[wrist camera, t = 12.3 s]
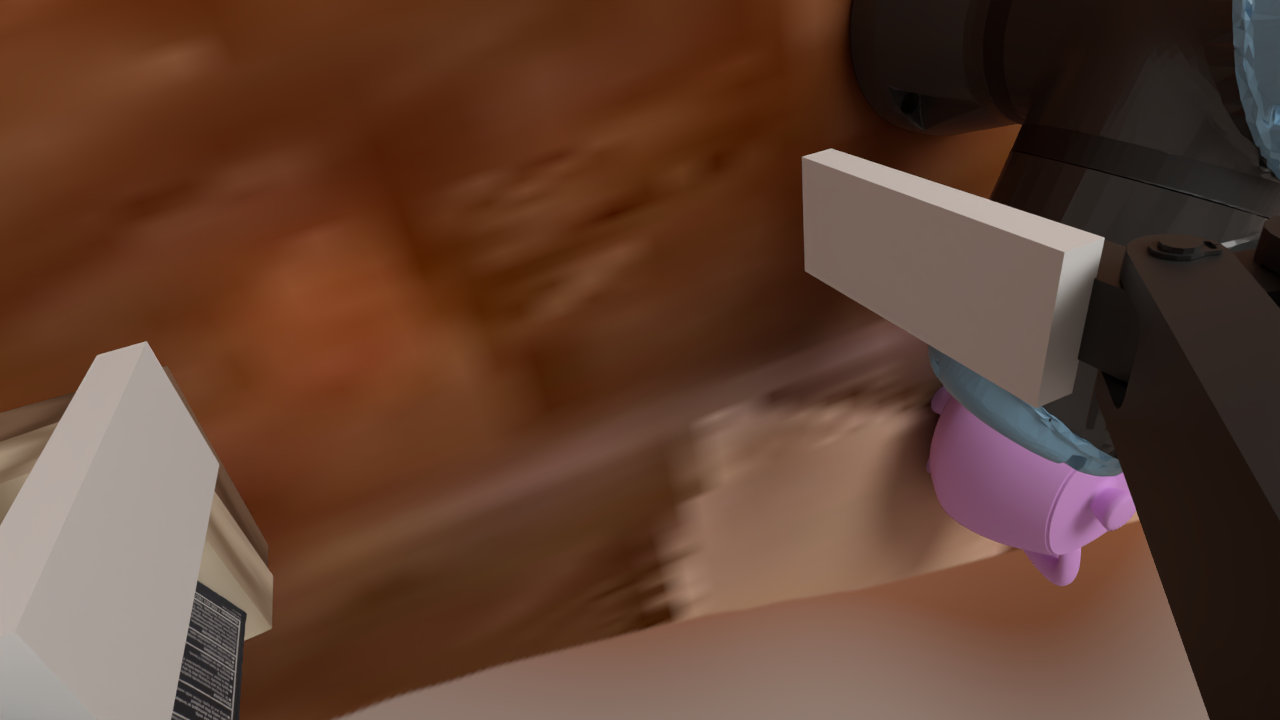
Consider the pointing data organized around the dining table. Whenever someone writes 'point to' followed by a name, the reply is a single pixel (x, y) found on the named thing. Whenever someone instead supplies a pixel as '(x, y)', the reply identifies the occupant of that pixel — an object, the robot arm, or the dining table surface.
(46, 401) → the tower base block
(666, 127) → the dining table surface
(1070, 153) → the robot arm
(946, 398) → the teapot
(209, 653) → the small box
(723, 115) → the dining table surface
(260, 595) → the tower top block
